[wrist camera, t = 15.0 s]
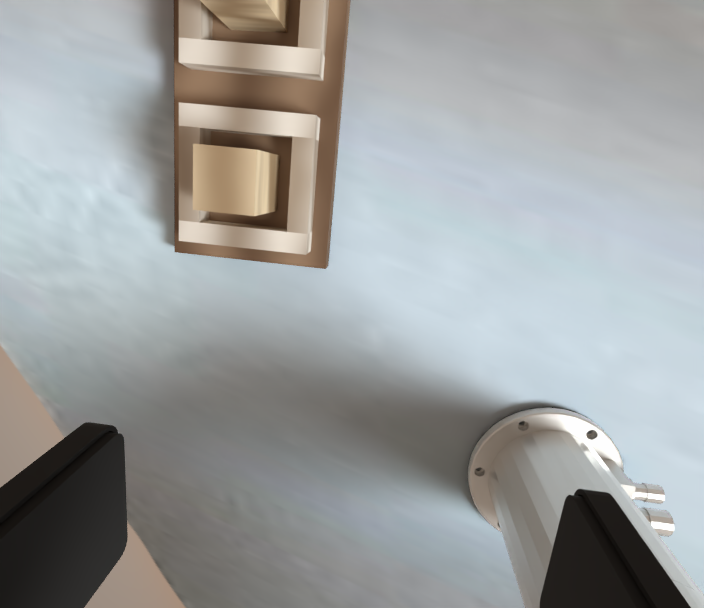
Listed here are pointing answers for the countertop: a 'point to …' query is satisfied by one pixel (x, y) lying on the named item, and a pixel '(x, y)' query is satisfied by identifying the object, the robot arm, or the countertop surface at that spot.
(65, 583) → the robot arm
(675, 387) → the countertop surface
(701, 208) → the countertop surface
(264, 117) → the board
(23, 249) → the countertop surface
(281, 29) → the tan wooden block
